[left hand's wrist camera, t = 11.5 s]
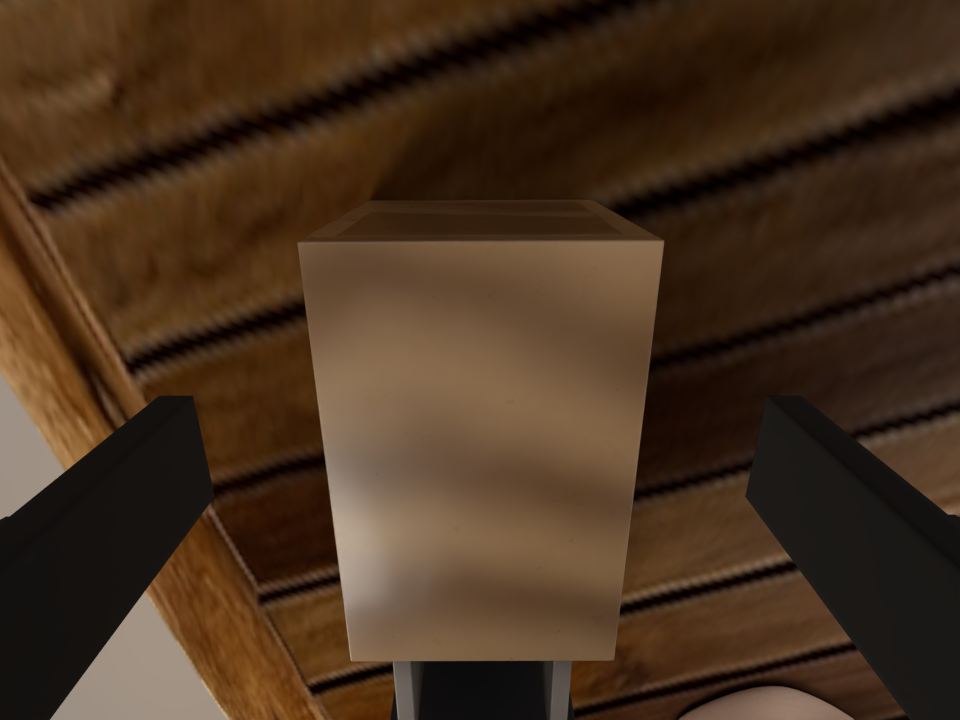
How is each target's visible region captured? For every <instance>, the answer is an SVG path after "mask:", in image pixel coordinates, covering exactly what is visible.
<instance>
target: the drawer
mask: <svg viewBox="0 0 960 720" xmlns="http://www.w3.org/2000/svg"><path fill="white" fill-rule="evenodd" d="M571 666H572V661H393V671H394V682H395V692H394V699H393V705H392V712H391V718H390V720H575V719H574V713H573V707H572V701H571V694H570V678H571Z"/></svg>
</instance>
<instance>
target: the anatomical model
mask: <svg viewBox="0 0 960 720" xmlns="http://www.w3.org/2000/svg"><path fill="white" fill-rule="evenodd" d="M678 720H854V719H853V718H851V717H850V716H848V715H847V714H845V713H844V712H842V711H841V710H839V709H837V708H836V707H834V706H832V705H830V704H828V703H826V702H824V701H822V700H820V699H818V698H816V697H814V696H812V695H810V694H807V693H804V692H802V691H799V690H796V689H792V688H788V687H782V686H761V687H755V688H750V689H746V690H741V691H738V692H735V693H731V694H728V695H725V696H723V697H720V698H718V699H715V700H712V701H710V702H708V703H705V704H703V705H701V706H699V707H697V708H695V709H693V710H691V711H689V712H687V713H686V714H684V715H683V716H682V717H680V718H679V719H678Z"/></svg>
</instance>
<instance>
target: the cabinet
mask: <svg viewBox="0 0 960 720" xmlns="http://www.w3.org/2000/svg"><path fill="white" fill-rule="evenodd" d="M297 244H298V251H299V259H300V267H301V275H302V283H303V291H304V299H305V306H306V314H307V322H308V330H309V338H310V346H311V353H312V361H313V369H314V377H315V385H316V393H317V400H318V408H319V416H320V424H321V432H322V440H323V447H324V455H325V463H326V471H327V479H328V487H329V494H330V502H331V510H332V518H333V526H334V534H335V541H336V549H337V557H338V565H339V573H340V581H341V589H342V596H343V604H344V612H345V620H346V628H347V636H348V643H349V651H350V659H351V661H611V660H614V654H615V646H616V638H617V629H618V621H619V613H620V605H621V596H622V588H623V580H624V571H625V563H626V555H627V547H628V538H629V530H630V522H631V513H632V505H633V497H634V489H635V480H636V472H637V464H638V455H639V447H640V439H641V431H642V422H643V414H644V406H645V397H646V389H647V381H648V373H649V364H650V356H651V348H652V339H653V331H654V323H655V315H656V306H657V298H658V290H659V281H660V273H661V265H662V257H663V248H664V240H662V239H661V238H659V237H657V236H655V235H653V234H651V233H649V232H648V231H646V230H644V229H642V228H641V227H639V226H637V225H635V224H634V223H632V222H630V221H628V220H627V219H625V218H623V217H621V216H620V215H618V214H616V213H614V212H612V211H611V210H609V209H607V208H605V207H604V206H602V205H600V204H598V203H597V202H595V201H593V200H369V201H367V202H366V203H364V204H362V205H360V206H359V207H357V208H355V209H354V210H352V211H350V212H348V213H347V214H345V215H343V216H341V217H340V218H338V219H336V220H335V221H333V222H331V223H329V224H328V225H326V226H324V227H322V228H321V229H319V230H317V231H316V232H314V233H312V234H310V235H309V236H307V237H305V238H304V239H302V240H300V241H298V243H297Z"/></svg>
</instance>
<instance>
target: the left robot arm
mask: <svg viewBox="0 0 960 720" xmlns="http://www.w3.org/2000/svg"><path fill="white" fill-rule="evenodd" d="M214 497H215V496H214V492H213V487H212V482H211V478H210V473H209V468H208V464H207V459H206V455H205V450H204V445H203V441H202V436H201V431H200V427H199V422H198V418H197V413H196V408H195V404H194V399H193V396H159V397H157V398H156V399H155V400H154V401H152V402H151V403H150V404H149V405H147V406H146V407H145V408H144V409H142V410H141V411H140V412H139V413H137V414H136V415H135V416H134V417H133V418H131V419H130V420H129V421H128V422H126V423H125V424H124V425H123V426H121V427H120V428H119V429H118V430H116V431H115V432H114V433H113V434H111V435H110V436H109V437H108V438H106V439H105V440H104V441H103V442H102V443H100V444H99V445H98V446H97V447H95V448H94V449H93V450H92V451H90V452H89V453H88V454H87V455H85V456H84V457H83V458H82V459H80V460H79V461H78V462H77V463H76V464H74V465H73V466H72V467H71V468H69V469H68V470H67V471H66V472H64V473H63V474H62V475H61V476H59V477H58V478H57V479H56V480H54V481H53V482H52V483H51V484H49V485H48V486H47V487H46V488H45V489H43V490H42V491H41V492H40V493H38V494H37V495H36V496H35V497H33V498H32V499H31V500H30V501H28V502H27V503H26V504H25V505H24V506H22V507H21V508H20V509H19V510H17V511H16V512H15V513H14V514H12V515H11V516H10V517H5V518H3V519H1V520H0V720H50V719H51V717H52V716H53V715H54V713H55V712H56V711H57V709H58V708H59V706H60V705H61V704H62V703H63V701H64V700H65V698H66V697H67V696H68V694H69V693H70V692H71V690H72V689H73V688H74V686H75V685H76V684H77V682H78V681H79V679H80V678H81V677H82V675H83V674H84V673H85V671H86V670H87V669H88V667H89V666H90V665H91V663H92V662H93V661H94V659H95V658H96V656H97V655H98V654H99V652H100V651H101V650H102V648H103V647H104V645H105V644H106V643H107V641H108V640H109V639H110V637H111V636H112V635H113V633H114V632H115V631H116V629H117V628H118V627H119V625H120V624H121V623H122V621H123V620H124V619H125V617H126V616H127V614H128V613H129V612H130V610H131V609H132V608H133V606H134V605H135V604H136V602H137V601H138V600H139V598H140V597H141V595H142V594H143V593H144V591H145V590H146V589H147V587H148V586H149V585H150V583H151V582H152V581H153V579H154V578H155V577H156V575H157V574H158V572H159V571H160V570H161V568H162V567H163V566H164V564H165V563H166V562H167V560H168V559H169V558H170V556H171V555H172V554H173V552H174V551H175V549H176V548H177V547H178V545H179V544H180V543H181V541H182V540H183V539H184V537H185V536H186V535H187V533H188V532H189V531H190V529H191V528H192V526H193V525H194V524H195V522H196V521H197V520H198V518H199V517H200V516H201V514H202V513H203V512H204V510H205V509H206V507H207V506H208V505H209V503H210V502H211V501H212V499H213V498H214ZM745 497H746V498H747V499H748V501H749V502H750V503H751V505H752V506H753V507H754V509H755V510H756V512H757V513H758V514H759V516H760V517H761V518H762V520H763V521H764V522H765V524H766V525H767V526H768V528H769V529H770V531H771V532H772V533H773V535H774V536H775V537H776V539H777V540H778V541H779V543H780V544H781V545H782V547H783V548H784V549H785V551H786V552H787V554H788V555H789V556H790V558H791V559H792V560H793V562H794V563H795V564H796V566H797V567H798V568H799V570H800V571H801V572H802V574H803V575H804V577H805V578H806V579H807V581H808V582H809V583H810V585H811V586H812V587H813V589H814V590H815V591H816V593H817V594H818V596H819V597H820V598H821V600H822V601H823V602H824V604H825V605H826V606H827V608H828V609H829V610H830V612H831V613H832V614H833V616H834V617H835V619H836V620H837V621H838V623H839V624H840V625H841V627H842V628H843V629H844V631H845V632H846V633H847V635H848V636H849V637H850V639H851V640H852V642H853V643H854V644H855V646H856V647H857V648H858V650H859V651H860V652H861V654H862V655H863V656H864V658H865V659H866V661H867V662H868V663H869V665H870V666H871V667H872V669H873V670H874V671H875V673H876V674H877V675H878V677H879V678H880V679H881V681H882V682H883V684H884V685H885V686H886V688H887V689H888V690H889V692H890V693H891V694H892V696H893V697H894V698H895V700H896V701H897V703H898V704H899V705H900V707H901V708H902V709H903V711H904V712H905V713H906V715H907V716H908V717H909V719H910V720H960V517H958V516H956V515H948V514H946V513H945V512H944V511H943V510H941V509H940V508H939V507H938V506H937V505H935V504H934V503H933V502H932V501H930V500H929V499H928V498H927V497H925V496H924V495H923V494H922V493H920V492H919V491H918V490H917V489H915V488H914V487H913V486H912V485H911V484H909V483H908V482H907V481H906V480H904V479H903V478H902V477H901V476H899V475H898V474H897V473H896V472H894V471H893V470H892V469H891V468H889V467H888V466H887V465H886V464H884V463H883V462H882V461H881V460H880V459H878V458H877V457H876V456H875V455H873V454H872V453H871V452H870V451H868V450H867V449H866V448H865V447H863V446H862V445H861V444H860V443H858V442H857V441H856V440H855V439H854V438H852V437H851V436H850V435H849V434H847V433H846V432H845V431H844V430H842V429H841V428H840V427H839V426H837V425H836V424H835V423H834V422H832V421H831V420H830V419H829V418H827V417H826V416H825V415H824V414H823V413H821V412H820V411H819V410H818V409H816V408H815V407H814V406H813V405H811V404H810V403H809V402H808V401H806V400H805V399H804V398H803V397H801V396H767V399H766V404H765V408H764V413H763V418H762V422H761V427H760V431H759V436H758V441H757V445H756V450H755V455H754V459H753V464H752V468H751V473H750V478H749V482H748V487H747V492H746V496H745Z"/></svg>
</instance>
